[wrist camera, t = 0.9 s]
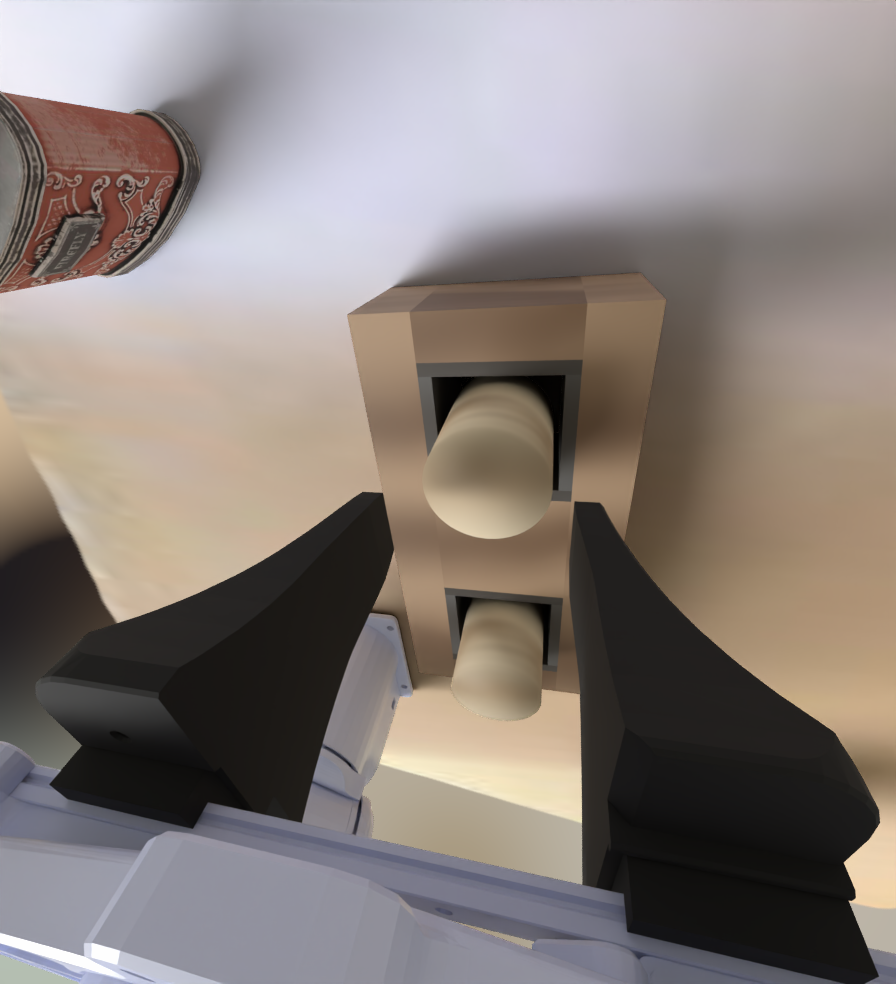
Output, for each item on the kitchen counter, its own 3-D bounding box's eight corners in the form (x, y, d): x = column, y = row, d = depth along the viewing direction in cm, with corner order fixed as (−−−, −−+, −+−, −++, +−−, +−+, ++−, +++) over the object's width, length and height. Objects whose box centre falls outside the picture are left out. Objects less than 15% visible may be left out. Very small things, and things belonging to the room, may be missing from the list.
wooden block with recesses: (591, 622, 28) (597, 696, 24) (437, 607, 30) (418, 672, 26) (640, 272, 17) (666, 299, 13) (391, 287, 19) (346, 314, 15)
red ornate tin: (125, 292, 22) (-130, 355, 14) (64, 225, 20) (-257, 251, 12) (218, 175, 18) (-57, 165, 10) (150, 85, 17) (-228, -10, 9)
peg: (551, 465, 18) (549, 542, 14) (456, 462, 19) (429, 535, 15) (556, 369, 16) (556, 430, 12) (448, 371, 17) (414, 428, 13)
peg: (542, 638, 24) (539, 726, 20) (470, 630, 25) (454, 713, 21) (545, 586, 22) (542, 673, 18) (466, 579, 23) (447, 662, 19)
